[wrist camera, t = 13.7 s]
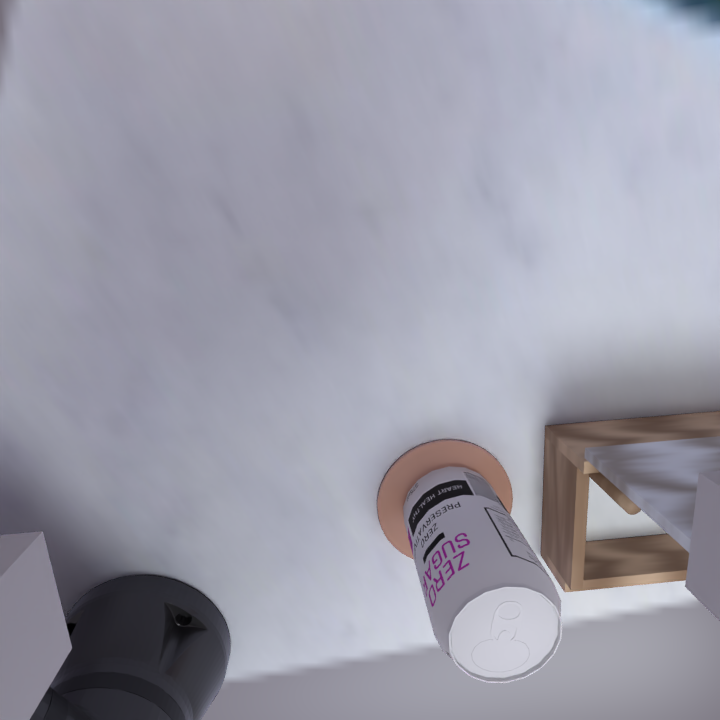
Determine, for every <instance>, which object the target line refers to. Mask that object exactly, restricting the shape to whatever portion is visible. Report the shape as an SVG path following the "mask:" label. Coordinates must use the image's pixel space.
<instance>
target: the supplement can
mask: <svg viewBox="0 0 720 720" xmlns="http://www.w3.org/2000/svg"><path fill="white" fill-rule="evenodd" d="M403 513H404V524H405V527H406V531H407V535H408V539H409V542H410V546H411V550H412V554H413V557H414V561H415V565H416V569H417V572H418V576H419V580H420V583H421V587H422V591H423V595H424V598H425V602H426V606H427V610H428V613H429V617H430V621H431V624H432V628H433V632H434V635H435V637H436V639H437V641H438V643H439V645H440V647H441V649H442V651H443V652H444V653H446V654H447V655H448V656H449V657H450V658H452V659H453V660H454V661H455V663H456V665H457V666H458V667H459V668H460V669H461V670H463V671H464V672H465V673H466V674H467V675H469V676H470V677H472V678H476V679H478V680H481V681H484V682H487V683H508V682H511V681H515V680H519V679H522V678H526V677H527V676H529V675H531V674H532V673H534V672H536V671H537V670H539V669H541V668H542V667H543V666H544V665H545V664H546V663H547V662H548V661H549V660H550V658H551V657H552V656H553V655H554V654H555V652H556V650H557V647H558V645H559V643H560V640H561V638H562V620H561V618H560V616H561V600H560V597H559V595H558V592H557V590H556V588H555V585H554V583H553V581H552V580H551V578H550V577H549V575H548V574H547V572H546V571H545V569H544V567H543V566H542V564H541V563H540V561H539V560H538V558H537V556H536V555H535V553H534V552H533V550H532V549H531V547H530V545H529V544H528V542H527V541H526V539H525V538H524V536H523V535H522V533H521V531H520V530H519V528H518V527H517V525H516V524H515V522H514V520H513V519H512V517H511V516H510V514H509V513H508V511H507V509H506V508H505V506H504V505H503V503H502V502H501V500H500V499H499V497H498V495H497V494H496V492H495V491H494V489H493V488H492V486H491V484H490V483H489V482H488V481H487V480H486V479H485V478H484V477H483V476H481V475H480V474H479V473H477V472H475V471H472V470H470V469H468V468H465V467H450V466H448V467H444V468H441V469H437V470H433V471H431V472H429V473H428V474H426V475H425V476H423V477H422V478H420V479H419V480H418V481H417V482H416V483H415V484H414V486H413V487H412V488H411V489H410V491H409V492H408V494H407V497H406V500H405V503H404V506H403Z"/></svg>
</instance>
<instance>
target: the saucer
mask: <svg viewBox="0 0 720 720" xmlns="http://www.w3.org/2000/svg"><path fill="white" fill-rule="evenodd" d="M448 466H450V467H465V468H468V469H470V470H472V471H475V472H477V473H479V474H480V475H481V476H483V477H484V478H485V479H486V480H487V481H488V482H489V483H490V484H491V486H492V488H493V489H494V491H495V492H496V494H497V495H498V497H499V499H500V500H501V502H502V503H503V505H504V506H505V508H506V509H507V511H508V513H509V514H510V513H511V509H512V500H513V498H512V488H511V484H510V481H509V478H508V476H507V474H506V472H505V470H504V469H503V467H502V466H501V465H500V463H499V462H498V461H497V459H496V458H495V457H494V456H493V455H492V454H490V453H489V452H488V451H486V450H485V449H483V448H481V447H479V446H478V445H475V444H472V443H470V442H466V441H461V440H453V439H448V440H437V441H432V442H428V443H425V444H422V445H420V446H417V447H415V448H413V449H412V450H410V451H408V452H407V453H405V454H404V455H403V456H401V457H400V458H399V459H398V460H397V461H396V462H395V463H394V464H393V465H392V466H391V468H390V469H389V470H388V472H387V473H386V475H385V477H384V479H383V481H382V483H381V486H380V489H379V493H378V499H377V510H378V517H379V521H380V525H381V528H382V530H383V532H384V534H385V536H386V537H387V539H388V540H389V541H390V543H391V544H392V545H393V546H394V547H395V548H396V549H397V550H399V551H400V552H401V553H403V554H404V555H406V556H408V557H410V558H412V559H414V557H413V554H412V550H411V546H410V542H409V539H408V535H407V531H406V527H405V524H404V513H403V506H404V503H405V500H406V497H407V494H408V492H409V491H410V489H411V488H412V487H413V486H414V484H415V483H416V482H417V481H418V480H419V479H420V478H422V477H423V476H425V475H426V474H428V473H429V472H431V471H433V470H437V469H441V468H444V467H448Z"/></svg>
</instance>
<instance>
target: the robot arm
mask: <svg viewBox="0 0 720 720" xmlns="http://www.w3.org/2000/svg"><path fill="white" fill-rule="evenodd" d="M685 587H686V588H687V589H688V590H689V591H690V592H691V593H692V594H693V595H694V596H695V597H696V598H697V599H698V600H699V601H700V602H701V603H702V604H703V605H704V606H705V607H706V608H707V609H708V610H709V611H710V612H711V613H712V614H713V615H714V616H715V617H716V618H717V619H718V620H719V621H720V470H719V471H708V472H699V476H698V484H697V492H696V501H695V509H694V517H693V526H692V534H691V542H690V551H689V559H688V567H687V576H686V584H685ZM229 656H230V636H229V631H228V628H227V625H226V623H225V621H224V619H223V617H222V615H221V614H220V612H219V611H218V609H217V608H216V607H215V606H214V605H213V604H212V603H211V602H210V601H209V600H208V599H207V598H206V597H205V596H203V595H202V594H201V593H199V592H198V591H196V590H195V589H193V588H191V587H189V586H187V585H185V584H183V583H180V582H178V581H175V580H172V579H168V578H163V577H157V576H129V577H123V578H118V579H114V580H111V581H108V582H106V583H104V584H101V585H99V586H97V587H96V588H94V589H92V590H91V591H89V592H88V593H87V594H85V595H84V596H83V597H82V598H81V599H80V600H79V601H78V602H77V603H76V604H75V605H74V607H73V608H72V610H71V611H70V613H69V614H68V616H67V617H66V619H65V617H64V613H63V609H62V605H61V601H60V597H59V593H58V589H57V586H56V582H55V578H54V574H53V570H52V566H51V562H50V558H49V554H48V550H47V546H46V542H45V538H44V534H43V531H38V532H27V533H16V534H4V535H1V536H0V720H201V719H202V717H203V716H204V714H205V713H206V711H207V709H208V708H209V706H210V704H211V703H212V701H213V700H214V699H215V697H216V695H217V694H218V692H219V690H220V688H221V686H222V683H223V681H224V678H225V674H226V670H227V665H228V661H229Z"/></svg>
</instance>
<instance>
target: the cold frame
mask: <svg viewBox="0 0 720 720" xmlns="http://www.w3.org/2000/svg"><path fill="white" fill-rule="evenodd" d="M719 470H720V411H714V412H702V413H690V414H678V415H666V416H654V417H642V418H630V419H618V420H607V421H595V422H583V423H571V424H559V425H547V426H545V447H544V477H543V506H542V536H541V556H542V558H543V559H544V561H545V563H546V564H547V566H548V567H549V569H550V570H551V572H552V573H553V575H554V576H555V578H556V580H557V581H558V583H559V584H560V586H561V587H562V589H563V590H564V592H573V591H583V590H593V589H603V588H613V587H623V586H633V585H643V584H653V583H663V582H673V581H683V580H686V576H687V567H688V559H689V551H690V542H691V534H692V526H693V517H694V509H695V501H696V492H697V484H698V476H699V472H708V471H719ZM589 477H590V478H591V479H592V480H593V481H594V482H596V483H597V484H598V485H599V486H600V487H601V488H602V489H603V490H604V491H605V492H606V493H607V494H608V495H609V496H610V497H611V498H612V499H613V500H614V501H615V502H616V503H617V504H618V505H619V506H620V507H622V508H623V509H624V510H625V511H626V512H627V513H628V514H631V515H634V514H637V513H638V512H640V510H642V511H643V512H645V513H646V514H647V515H648V516H649V517H650V518H651V519H652V520H653V521H655V522H656V523H657V524H658V525H659V526H660V527H661V528H662V529H663V530H664V531H666V532H667V533H668V534H662V535H652V536H641V537H631V538H620V539H609V540H599V541H588V542H586V526H587V509H588V492H589Z"/></svg>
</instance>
